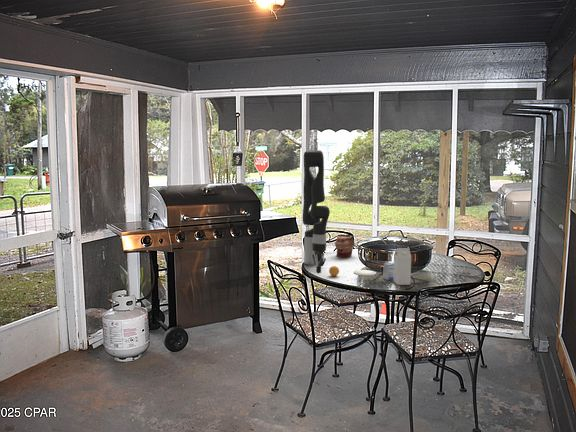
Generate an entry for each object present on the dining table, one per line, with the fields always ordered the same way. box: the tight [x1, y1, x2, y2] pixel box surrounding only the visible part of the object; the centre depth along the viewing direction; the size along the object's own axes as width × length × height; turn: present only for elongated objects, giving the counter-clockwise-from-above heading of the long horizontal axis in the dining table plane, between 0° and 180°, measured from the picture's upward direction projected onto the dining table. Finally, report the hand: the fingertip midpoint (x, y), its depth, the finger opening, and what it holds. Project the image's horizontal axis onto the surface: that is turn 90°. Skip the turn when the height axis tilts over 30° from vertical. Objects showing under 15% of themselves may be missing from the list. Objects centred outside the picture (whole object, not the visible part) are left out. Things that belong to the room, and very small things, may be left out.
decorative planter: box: [334, 234, 355, 258], centre depth 334 cm, size 20×12×14 cm, turn 159°
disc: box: [353, 269, 377, 277], centre depth 289 cm, size 13×13×1 cm
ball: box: [328, 265, 340, 277], centre depth 281 cm, size 6×6×6 cm
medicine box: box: [382, 262, 394, 281], centre depth 276 cm, size 8×4×9 cm, turn 117°
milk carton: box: [392, 247, 412, 286], centre depth 266 cm, size 7×7×19 cm
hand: (318, 272), depth 277 cm, fingers closed
